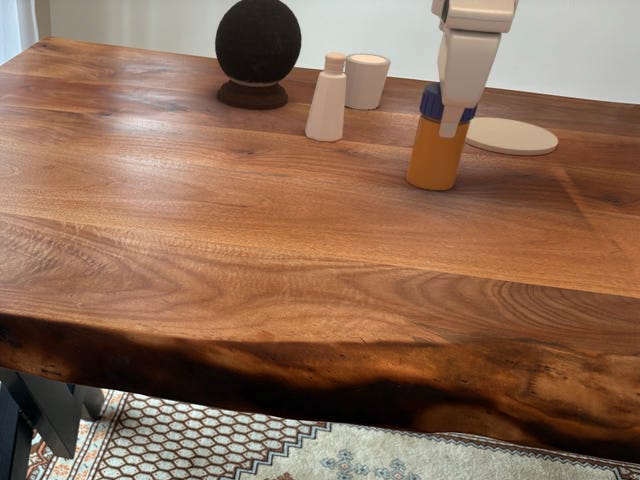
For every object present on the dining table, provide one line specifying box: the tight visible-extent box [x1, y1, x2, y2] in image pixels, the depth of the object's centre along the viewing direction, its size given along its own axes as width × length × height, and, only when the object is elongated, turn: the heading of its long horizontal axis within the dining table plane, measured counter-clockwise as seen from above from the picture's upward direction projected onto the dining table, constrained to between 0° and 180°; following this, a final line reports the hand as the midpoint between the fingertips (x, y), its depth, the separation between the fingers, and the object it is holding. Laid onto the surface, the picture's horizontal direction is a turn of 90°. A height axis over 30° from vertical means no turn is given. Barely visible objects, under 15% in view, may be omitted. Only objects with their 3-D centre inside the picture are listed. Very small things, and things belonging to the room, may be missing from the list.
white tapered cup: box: [344, 53, 392, 111], centre depth 120 cm, size 7×7×7 cm
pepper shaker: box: [304, 52, 347, 143], centre depth 106 cm, size 5×5×11 cm
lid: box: [418, 82, 480, 122], centre depth 90 cm, size 6×6×3 cm
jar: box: [405, 112, 471, 191], centre depth 93 cm, size 6×6×10 cm
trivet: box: [465, 117, 559, 156], centre depth 111 cm, size 14×14×1 cm
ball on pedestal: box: [214, 0, 303, 111], centre depth 118 cm, size 13×13×15 cm
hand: (444, 124), depth 92 cm, fingers open, 7 cm apart
